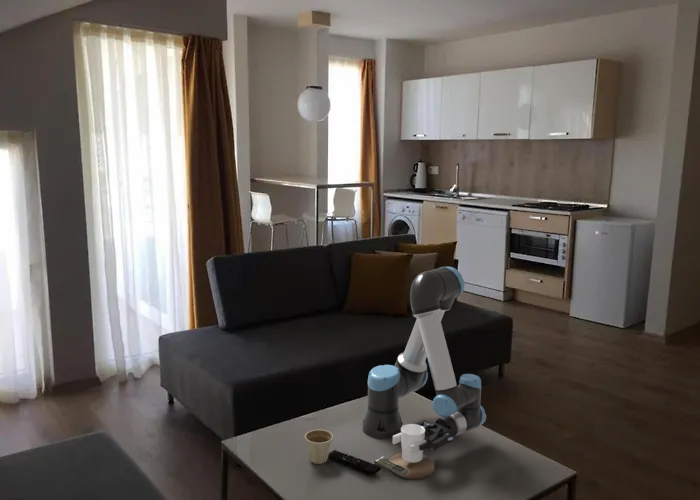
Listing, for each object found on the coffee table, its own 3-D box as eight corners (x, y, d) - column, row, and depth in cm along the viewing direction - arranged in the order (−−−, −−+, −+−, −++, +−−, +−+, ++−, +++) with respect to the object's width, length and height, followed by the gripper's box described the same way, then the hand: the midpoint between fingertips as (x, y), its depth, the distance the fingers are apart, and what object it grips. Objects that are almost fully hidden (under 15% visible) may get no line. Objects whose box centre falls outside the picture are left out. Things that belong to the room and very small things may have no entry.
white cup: (423, 464, 194) (424, 436, 192) (398, 462, 195) (399, 433, 194) (425, 453, 201) (426, 425, 200) (401, 450, 203) (402, 422, 201)
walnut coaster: (379, 464, 200) (379, 461, 200) (411, 451, 209) (412, 447, 209) (410, 484, 189) (410, 481, 188) (443, 469, 198) (443, 466, 198)
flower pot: (337, 456, 205) (337, 433, 203) (324, 469, 197) (325, 445, 195) (313, 450, 209) (313, 427, 207) (299, 463, 200) (299, 439, 199)
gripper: (472, 447, 201) (424, 468, 187) (428, 425, 217) (380, 443, 203) (473, 426, 200) (424, 446, 186) (429, 405, 216) (381, 422, 202)
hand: (402, 444), depth 194 cm, fingers closed on white cup, 8 cm apart
